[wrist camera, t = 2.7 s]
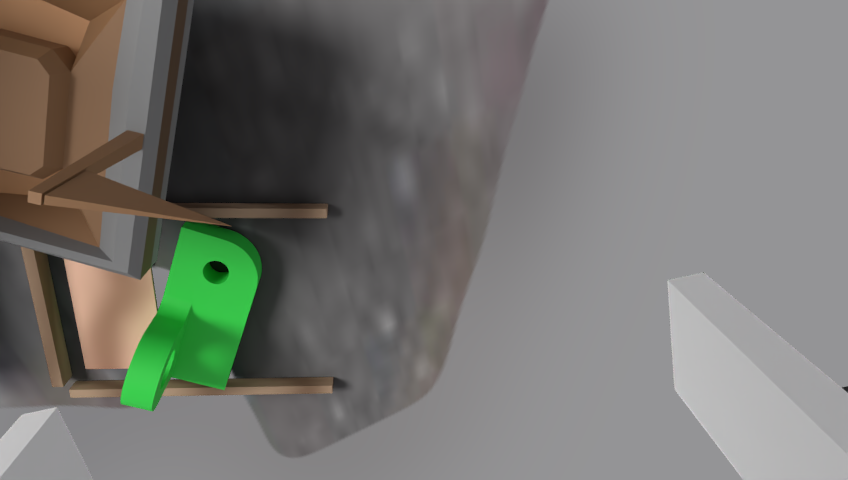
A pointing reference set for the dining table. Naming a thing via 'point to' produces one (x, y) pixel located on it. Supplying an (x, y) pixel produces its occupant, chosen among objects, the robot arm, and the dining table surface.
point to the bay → (138, 316)
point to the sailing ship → (91, 127)
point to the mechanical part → (196, 315)
